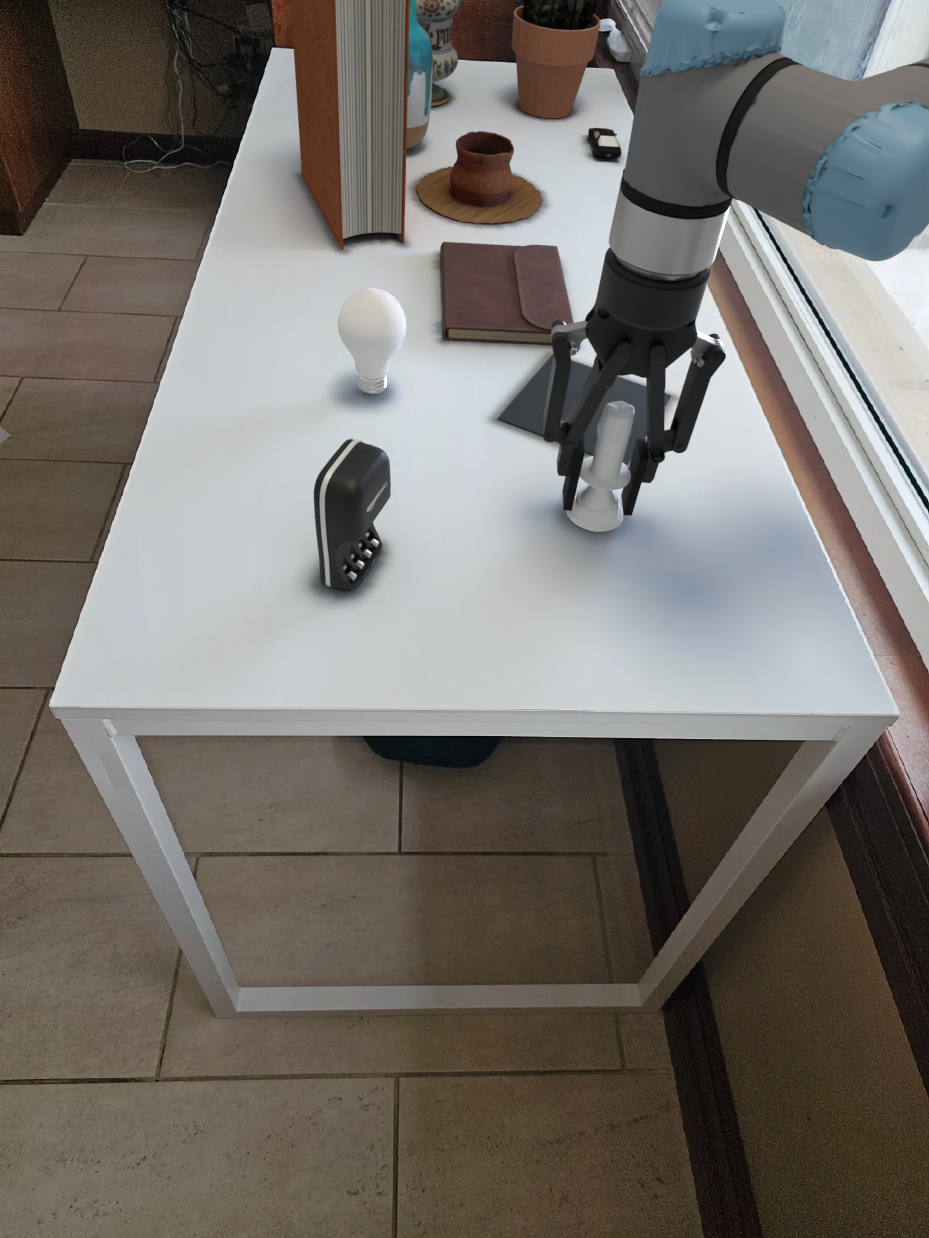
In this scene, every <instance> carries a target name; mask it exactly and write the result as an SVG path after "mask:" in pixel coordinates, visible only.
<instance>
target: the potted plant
mask: <svg viewBox="0 0 929 1238" xmlns="http://www.w3.org/2000/svg"><path fill="white" fill-rule="evenodd" d="M597 7H598V0H523V5H520V6H518V7H516V8H515V9H514V10H513V16H512V17H513V18H512V19H513V20H512V32H511V33H512V34H511V48H512V51H513V53H515V63H516V65H515V66H516V81H517V97H518V107H519V108H520V110H522V111H523V112H524V113H526V114H528V115H530V116H533V117H537V118H542V119H550V120H551V119H552V120H553V119H560V118H565V117H567V116H569V115H570V114H571V112H572V111H573V108H574V105H575V102H576V99H577V96H578V93H579V90H580V87H581V84H582V81H583V78H584V76H585V72H586V69H587V66H588V64H589V62H590V61H592V60H593V59H594V56H595V52H596V47H597V43H598V38H599V33H600V30H601V29H600V28H601V24H602V21H601V19H600V18H599V17H598V15H596V14H595V12H596V10H597Z"/></svg>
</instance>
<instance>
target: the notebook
mask: <svg viewBox="0 0 929 1238" xmlns="http://www.w3.org/2000/svg"><path fill="white" fill-rule="evenodd" d="M439 249H440V251H439V253H440V276H441V278H440V279H441V309H442V310H441V311H442V312H441V313H442V314H441V315H442V335H443V338H444V340H446V341H461V342H462V341H463V342H484V343H485V342H486V343H505V344H523V345H524V344H525V345H526V344H527V345H528V344H529V345H549V346H552V338H551V325H552V323H553V322H554V321H555V320H563V321H564V322H565V323H566V325H568V324H572V323H575V321H574V317H573V312H572V307H571V304H570V299H569V294H568V288H567V285H566V280H565V275H564V271H563V266H562V261H561V257H560V252H559V247H558V246H557V245H549V244H527V245H514V244H513V245H512V244H511V245H510V244H493V243H477V242H475V243H474V242H456V241H455V242H454V241H442V243H441V244H440V247H439Z"/></svg>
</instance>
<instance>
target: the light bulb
mask: <svg viewBox="0 0 929 1238" xmlns="http://www.w3.org/2000/svg"><path fill="white" fill-rule="evenodd" d="M407 327H408V326H407V317H406V314H405V311H404V309H403V307H402V304H401V303H400V302H399V301H398V300H397V298H395V297H394V295H392V294H391V293H389V292H388V291H385V290H384V289H380V288H375V287H367V288H366V287H365V288H362V289H359V290H357V291H355V292H353V293H351V294H350V295H349V296H348V297H347V298H346V299H345V300H344V302H343V303H342V305H341V306H340V309H339V313H338V316H337V329H338V330H337V331H338V334H339V337H340V339H341V342H342V343H343V345H344V346H345V348H346V349H347V350H348V351H349V353H350V355H351V356H352V358H353V360H354V365H355V370H356V372H357V374H358V377H357V383H358V385H357V387H358V388H359V390H360V391H362V392H364V393H365V394H370V395H376V394H381V393H383V392H384V391H385V389H386V388H387V387H388V373H389V371H390V366H391V361H392V359H393V357H394V356H395V354H396V352H397V351H398V350H399V349H400V347H401V345H402V344H403V343H404V340H405V337H406V332H407Z"/></svg>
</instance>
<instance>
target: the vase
mask: <svg viewBox="0 0 929 1238" xmlns="http://www.w3.org/2000/svg"><path fill="white" fill-rule="evenodd" d="M432 74H433V62H432V47H431V41H430V37H429V35H428V33H427V32H426V30H424V29H423V28H422V27H421V26H419V24H418V22H417V11H416V0H410V17H409V60H408V103H407V146H406V150H408V149H411V148H414V147H416V146H417V145H419V144H420V143H421V142H422V141H423V139H424V137H425V136H426V134H427V131H428V127H429V123H430V116H431V110H432V109H431V108H432V106H431V99H432V83H433V82H432Z"/></svg>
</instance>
